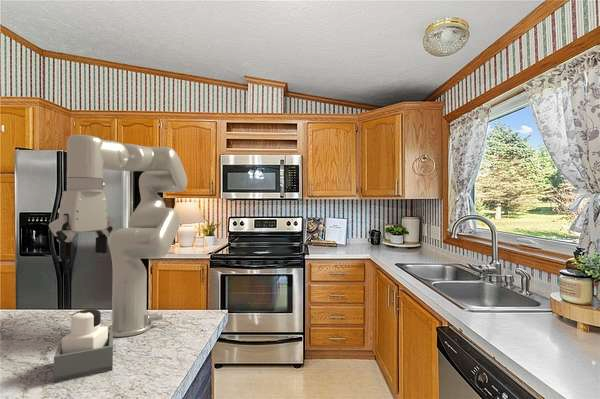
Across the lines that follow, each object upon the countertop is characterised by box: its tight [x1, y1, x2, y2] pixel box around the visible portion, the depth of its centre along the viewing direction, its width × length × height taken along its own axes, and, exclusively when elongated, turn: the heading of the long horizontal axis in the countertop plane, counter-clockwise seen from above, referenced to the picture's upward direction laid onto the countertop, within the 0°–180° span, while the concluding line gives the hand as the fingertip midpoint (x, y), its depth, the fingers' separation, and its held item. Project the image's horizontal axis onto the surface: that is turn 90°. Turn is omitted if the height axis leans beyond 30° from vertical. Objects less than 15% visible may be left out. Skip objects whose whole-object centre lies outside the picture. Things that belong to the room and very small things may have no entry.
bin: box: [53, 331, 114, 383], centre depth 80 cm, size 11×11×6 cm
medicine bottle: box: [61, 308, 109, 354], centre depth 80 cm, size 7×7×12 cm
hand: (85, 255), depth 81 cm, fingers open, 9 cm apart
